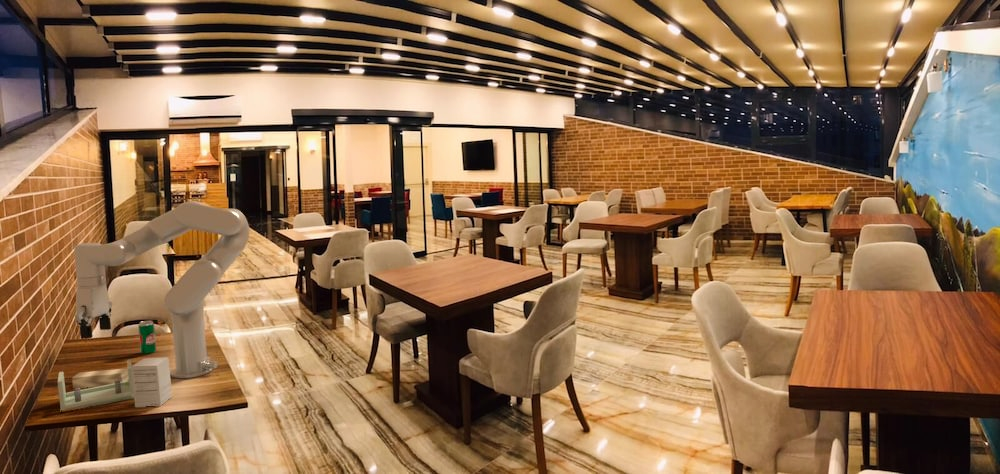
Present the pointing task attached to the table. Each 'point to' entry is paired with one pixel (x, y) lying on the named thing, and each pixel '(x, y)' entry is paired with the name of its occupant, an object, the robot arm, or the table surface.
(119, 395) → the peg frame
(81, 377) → the shelf board
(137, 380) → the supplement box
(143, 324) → the soda can
